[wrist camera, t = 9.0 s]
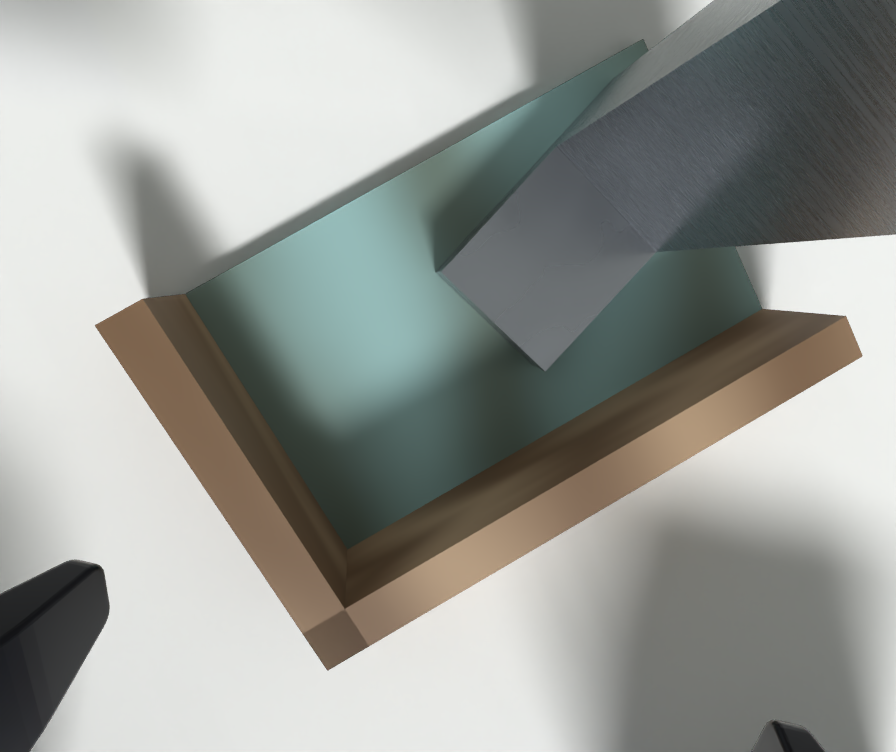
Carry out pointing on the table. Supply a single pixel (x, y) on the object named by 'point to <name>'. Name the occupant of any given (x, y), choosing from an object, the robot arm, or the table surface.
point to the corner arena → (444, 388)
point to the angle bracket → (695, 163)
